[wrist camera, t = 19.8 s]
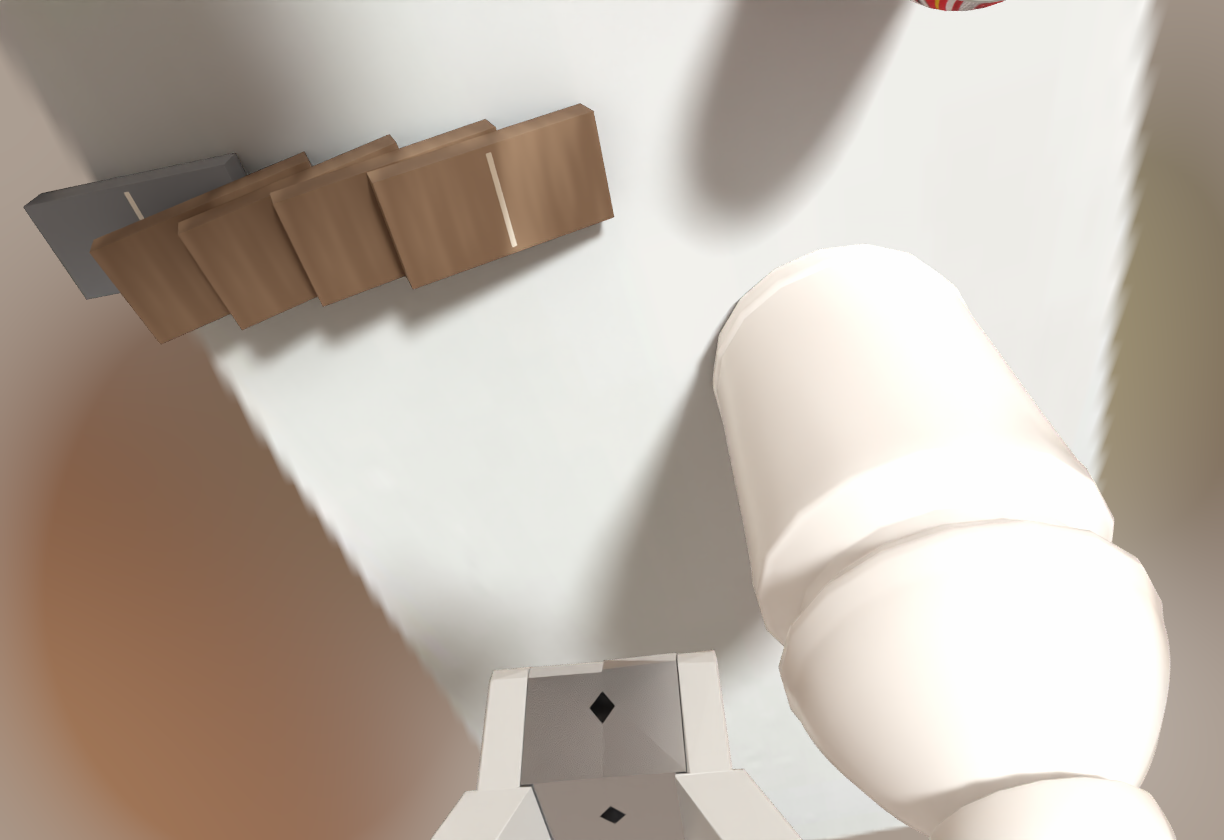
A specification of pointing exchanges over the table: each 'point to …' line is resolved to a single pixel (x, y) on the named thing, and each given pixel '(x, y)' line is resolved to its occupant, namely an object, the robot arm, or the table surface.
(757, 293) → the bottle
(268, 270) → the domino
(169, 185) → the end domino
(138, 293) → the domino
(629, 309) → the table surface
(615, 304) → the table surface
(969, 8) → the soda can
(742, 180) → the table surface
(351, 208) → the domino
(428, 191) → the domino
